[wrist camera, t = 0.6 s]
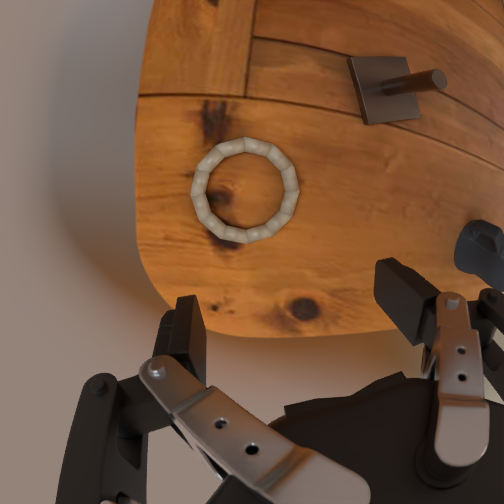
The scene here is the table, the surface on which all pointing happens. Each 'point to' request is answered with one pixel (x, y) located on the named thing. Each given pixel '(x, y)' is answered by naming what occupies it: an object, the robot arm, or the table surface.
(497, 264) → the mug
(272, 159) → the ring
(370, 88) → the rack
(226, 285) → the table surface
